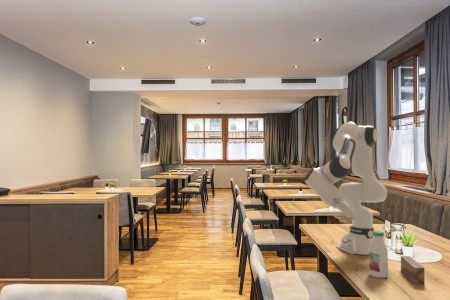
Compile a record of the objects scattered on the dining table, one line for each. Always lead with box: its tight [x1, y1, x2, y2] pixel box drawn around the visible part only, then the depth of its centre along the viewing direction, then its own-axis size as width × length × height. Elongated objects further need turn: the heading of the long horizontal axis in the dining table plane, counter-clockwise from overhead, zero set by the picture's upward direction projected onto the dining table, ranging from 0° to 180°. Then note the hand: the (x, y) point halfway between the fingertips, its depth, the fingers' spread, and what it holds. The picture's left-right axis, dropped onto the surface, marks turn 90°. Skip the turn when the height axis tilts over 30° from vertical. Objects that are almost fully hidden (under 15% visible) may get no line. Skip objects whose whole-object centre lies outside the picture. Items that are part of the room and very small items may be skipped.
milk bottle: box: [368, 230, 389, 279], centre depth 168 cm, size 8×8×20 cm
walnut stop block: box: [400, 255, 425, 285], centre depth 165 cm, size 4×18×7 cm, turn 171°
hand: (355, 219), depth 169 cm, fingers closed
